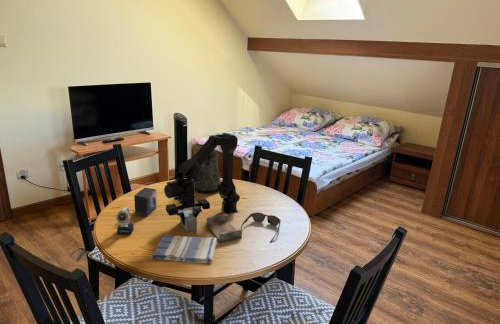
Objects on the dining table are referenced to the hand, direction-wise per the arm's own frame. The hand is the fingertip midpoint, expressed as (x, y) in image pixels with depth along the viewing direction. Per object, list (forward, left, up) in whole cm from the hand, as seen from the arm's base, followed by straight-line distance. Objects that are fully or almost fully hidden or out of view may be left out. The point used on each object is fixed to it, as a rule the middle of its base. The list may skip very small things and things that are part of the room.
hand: (188, 223), depth 155 cm
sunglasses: (-29, +16, -2) cm, 33 cm away
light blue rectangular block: (0, 0, -2) cm, 2 cm away
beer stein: (-24, -37, -2) cm, 44 cm away
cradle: (-13, +10, -2) cm, 16 cm away
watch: (+26, -6, -2) cm, 27 cm away
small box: (+14, -22, -2) cm, 26 cm away
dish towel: (+6, +17, -2) cm, 18 cm away
